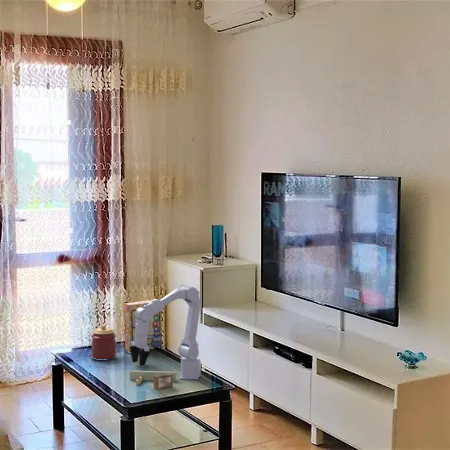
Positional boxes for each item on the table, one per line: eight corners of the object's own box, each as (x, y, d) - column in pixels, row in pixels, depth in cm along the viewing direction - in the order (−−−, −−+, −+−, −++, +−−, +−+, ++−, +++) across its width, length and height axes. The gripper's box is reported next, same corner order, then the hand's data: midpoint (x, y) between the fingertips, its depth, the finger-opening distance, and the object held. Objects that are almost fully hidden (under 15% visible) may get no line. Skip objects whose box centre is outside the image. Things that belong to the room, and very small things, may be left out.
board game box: (156, 346, 408) (156, 299, 406) (162, 348, 403) (162, 300, 401) (124, 351, 396) (123, 302, 394) (129, 354, 391) (129, 304, 389)
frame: (169, 385, 332) (169, 372, 332) (172, 387, 329) (172, 374, 329) (153, 388, 328) (153, 375, 328) (156, 390, 325) (156, 377, 325)
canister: (86, 357, 383) (86, 324, 382) (107, 353, 391) (107, 321, 390) (100, 362, 373) (99, 328, 372) (121, 358, 382) (120, 325, 381)
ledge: (176, 380, 341) (176, 371, 340) (172, 385, 331) (172, 377, 331) (130, 378, 343) (130, 370, 343) (125, 384, 333) (125, 376, 333)
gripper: (126, 331, 334) (123, 360, 334) (140, 337, 322) (137, 367, 322) (140, 331, 338) (137, 360, 338) (154, 337, 325) (151, 367, 325)
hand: (138, 363), depth 330 cm, fingers open, 7 cm apart
